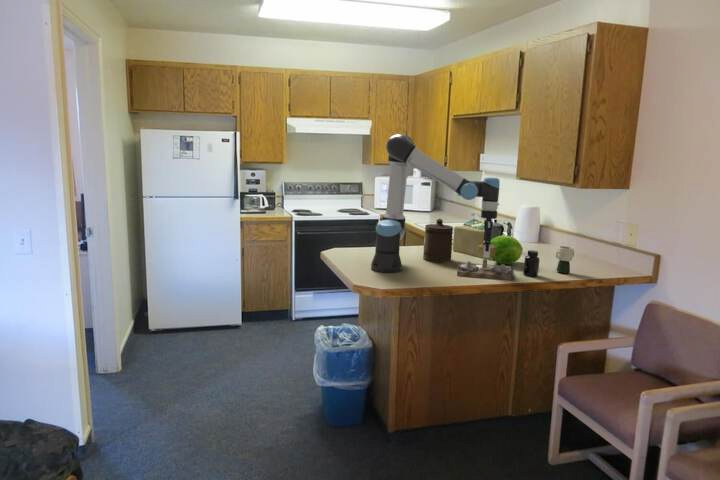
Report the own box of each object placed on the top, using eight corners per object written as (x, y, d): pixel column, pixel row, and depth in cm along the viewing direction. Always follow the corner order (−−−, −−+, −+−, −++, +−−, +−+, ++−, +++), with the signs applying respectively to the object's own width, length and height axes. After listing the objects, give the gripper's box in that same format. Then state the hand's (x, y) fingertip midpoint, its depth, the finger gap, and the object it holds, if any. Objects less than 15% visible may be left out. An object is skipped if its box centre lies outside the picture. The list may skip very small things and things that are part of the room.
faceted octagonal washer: (477, 257, 249) (478, 247, 248) (477, 253, 257) (477, 244, 256) (495, 258, 247) (495, 248, 246) (494, 254, 255) (494, 245, 254)
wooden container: (437, 255, 285) (439, 216, 281) (456, 260, 274) (459, 220, 269) (417, 258, 277) (419, 217, 272) (436, 264, 265) (439, 222, 261)
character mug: (566, 270, 262) (569, 245, 259) (576, 274, 255) (579, 248, 253) (549, 271, 258) (552, 246, 256) (558, 275, 252) (562, 249, 249)
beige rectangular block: (490, 257, 285) (493, 231, 282) (477, 259, 280) (479, 232, 277) (464, 249, 304) (466, 224, 301) (451, 250, 299) (453, 225, 296)
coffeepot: (480, 247, 312) (482, 218, 309) (493, 246, 316) (496, 217, 312) (494, 252, 298) (497, 222, 295) (508, 252, 301) (511, 221, 298)
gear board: (457, 275, 243) (458, 263, 242) (457, 265, 263) (458, 254, 261) (513, 280, 238) (515, 267, 237) (510, 270, 258) (511, 258, 257)
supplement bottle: (520, 274, 249) (522, 250, 247) (527, 272, 254) (529, 249, 252) (533, 277, 245) (536, 253, 242) (540, 275, 249) (543, 251, 247)
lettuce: (527, 269, 271) (535, 241, 267) (500, 268, 261) (507, 240, 257) (505, 258, 285) (512, 232, 281) (478, 258, 275) (485, 231, 271)
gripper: (498, 213, 237) (494, 261, 241) (496, 207, 257) (492, 251, 261) (482, 212, 238) (478, 259, 242) (480, 206, 258) (477, 250, 263)
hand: (485, 255), depth 252 cm, fingers closed on faceted octagonal washer, 8 cm apart
